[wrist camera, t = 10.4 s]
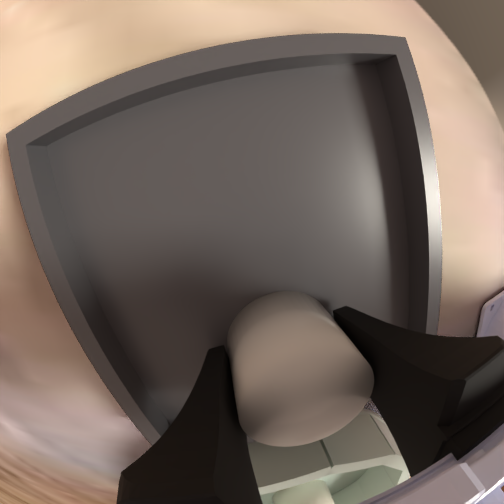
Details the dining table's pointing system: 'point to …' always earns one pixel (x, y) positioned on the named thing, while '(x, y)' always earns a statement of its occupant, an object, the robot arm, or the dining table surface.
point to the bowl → (334, 462)
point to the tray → (231, 201)
